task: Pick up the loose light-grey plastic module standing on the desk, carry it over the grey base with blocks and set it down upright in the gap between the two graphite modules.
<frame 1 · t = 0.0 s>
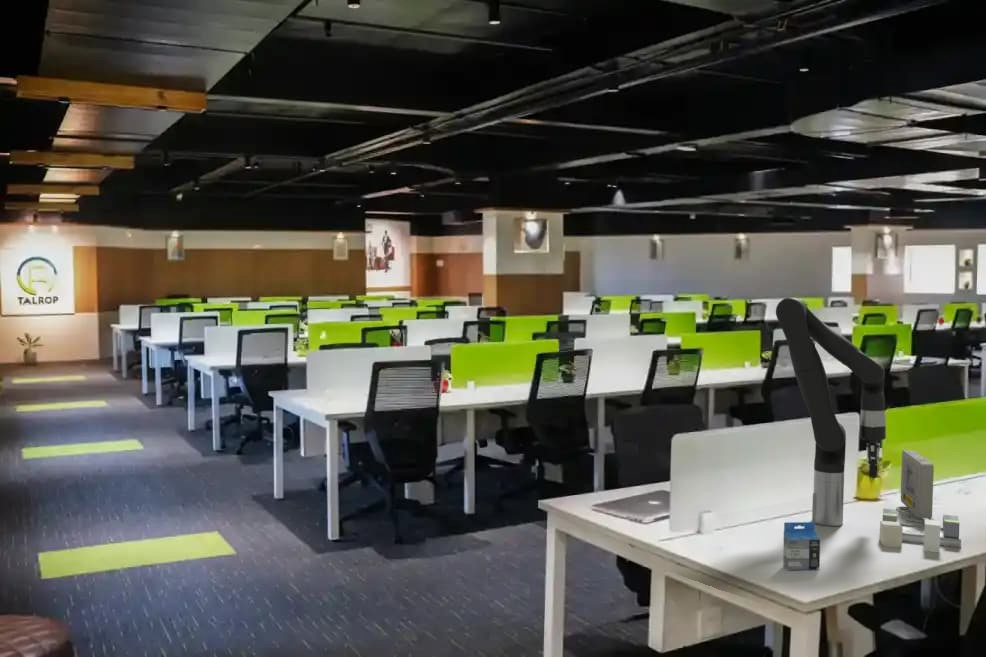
hand: (873, 474, 287), 17 cm above the table, tool pointing down, fingers open, 8 cm apart
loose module: (931, 549, 265), on the table
label tape box: (801, 569, 246), on the table
network device: (914, 515, 304), on the table
grey base with blocks: (919, 537, 277), on the table
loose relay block: (890, 544, 270), on the table
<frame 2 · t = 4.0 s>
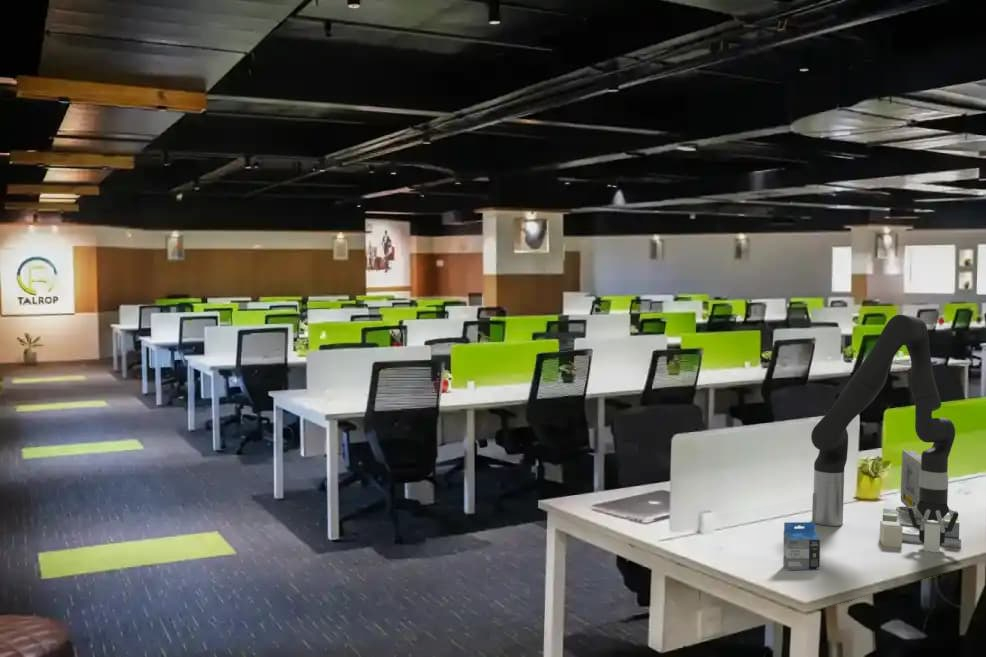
hand: (931, 543, 265), 2 cm above the table, tool pointing down, fingers closed on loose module, 4 cm apart
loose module: (931, 549, 265), on the table, touching gripper
everything else where it was.
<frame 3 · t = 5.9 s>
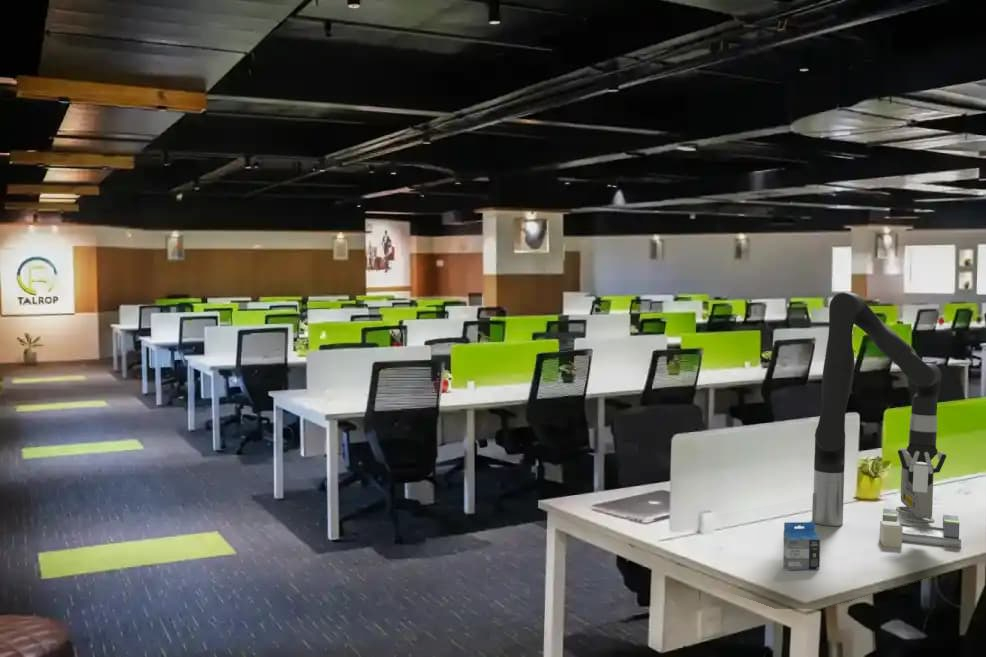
hand: (920, 484, 275), 17 cm above the table, tool pointing down, fingers closed on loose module, 4 cm apart
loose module: (919, 489, 275), point 15 cm above the table, touching gripper
everything else where it was.
when the fingers open (5 cm above the table, at t = 8.2 s): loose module drops 2 cm, resting on grey base with blocks.
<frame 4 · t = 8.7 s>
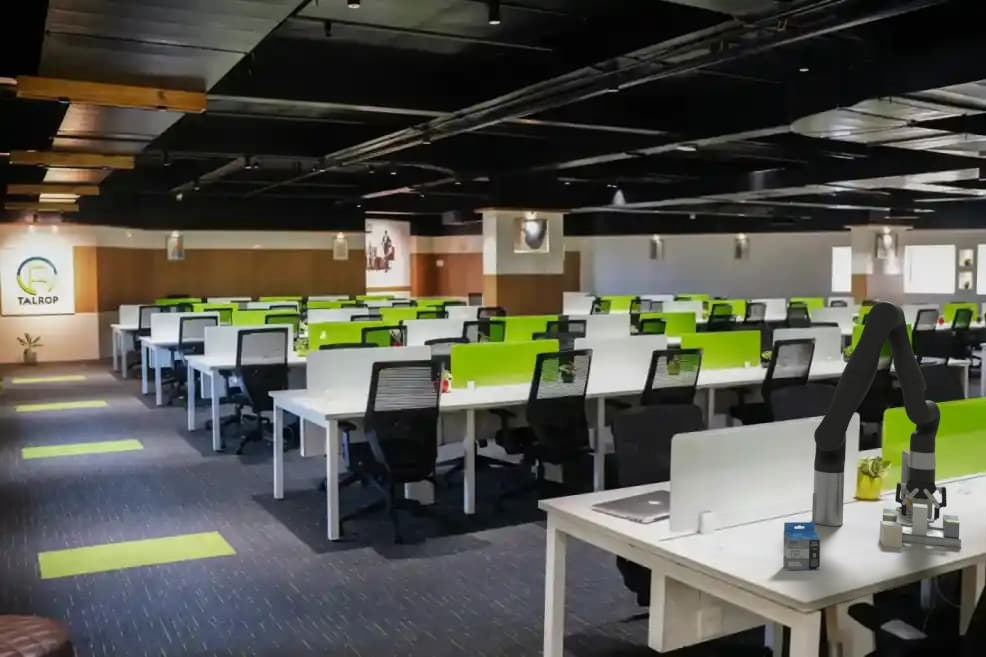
hand: (920, 518, 276), 6 cm above the table, tool pointing down, fingers open, 8 cm apart
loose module: (919, 531, 277), point 2 cm above the table, touching grey base with blocks
everything else where it was.
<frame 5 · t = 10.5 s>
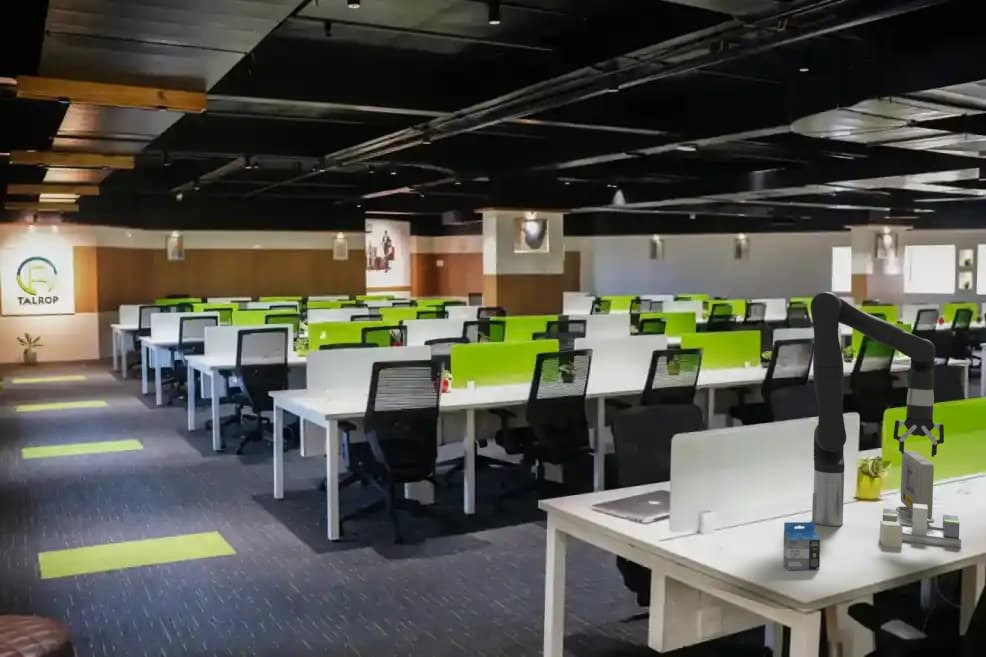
hand: (917, 454, 280), 25 cm above the table, tool pointing down, fingers open, 8 cm apart
nothing on the table moved.
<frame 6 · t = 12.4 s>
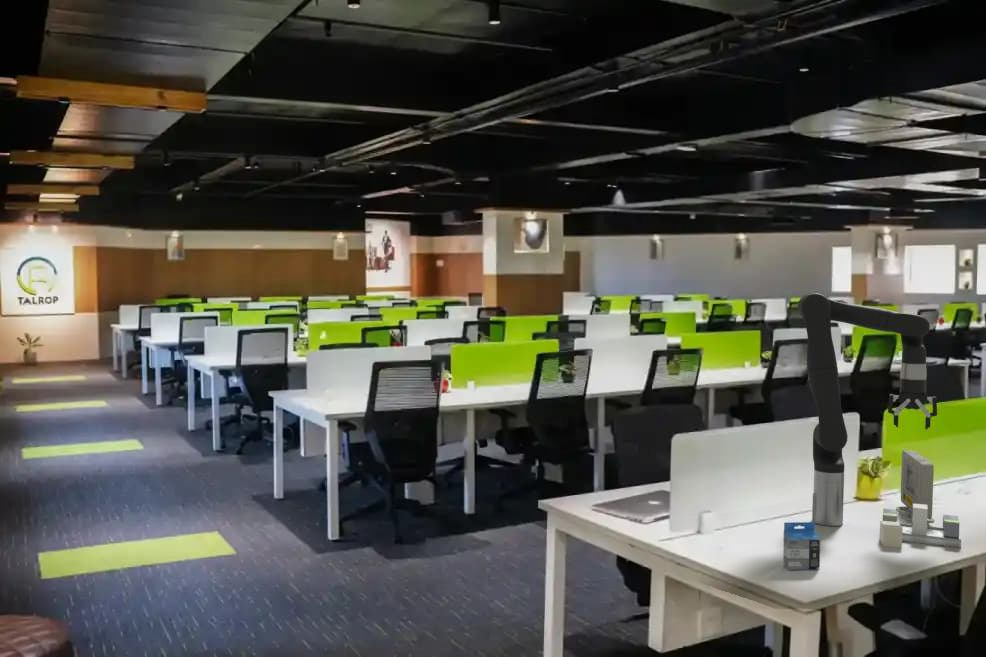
hand: (911, 427, 287), 32 cm above the table, tool pointing down, fingers open, 8 cm apart
nothing on the table moved.
at the end: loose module inside the target area on the grey base with blocks (0.1 cm from its centre), point 1.8 cm above the grey base with blocks's base; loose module tilted 0°; the gripper is holding nothing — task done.
